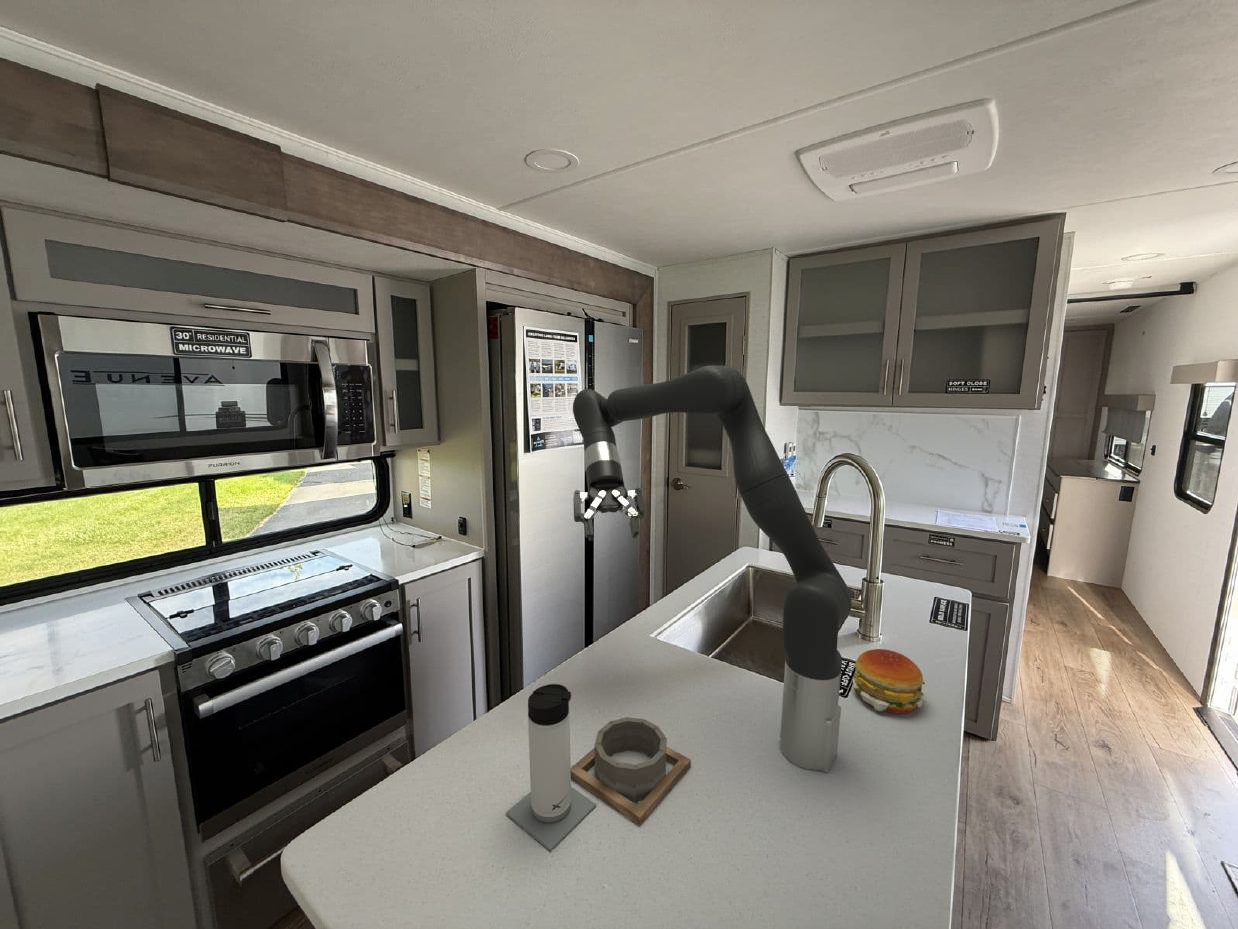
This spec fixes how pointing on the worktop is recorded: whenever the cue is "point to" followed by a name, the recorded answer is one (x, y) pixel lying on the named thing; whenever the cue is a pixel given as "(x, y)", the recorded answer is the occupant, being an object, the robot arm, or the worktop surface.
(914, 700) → the burger
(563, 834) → the coaster
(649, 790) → the ring holder
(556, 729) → the travel mug
